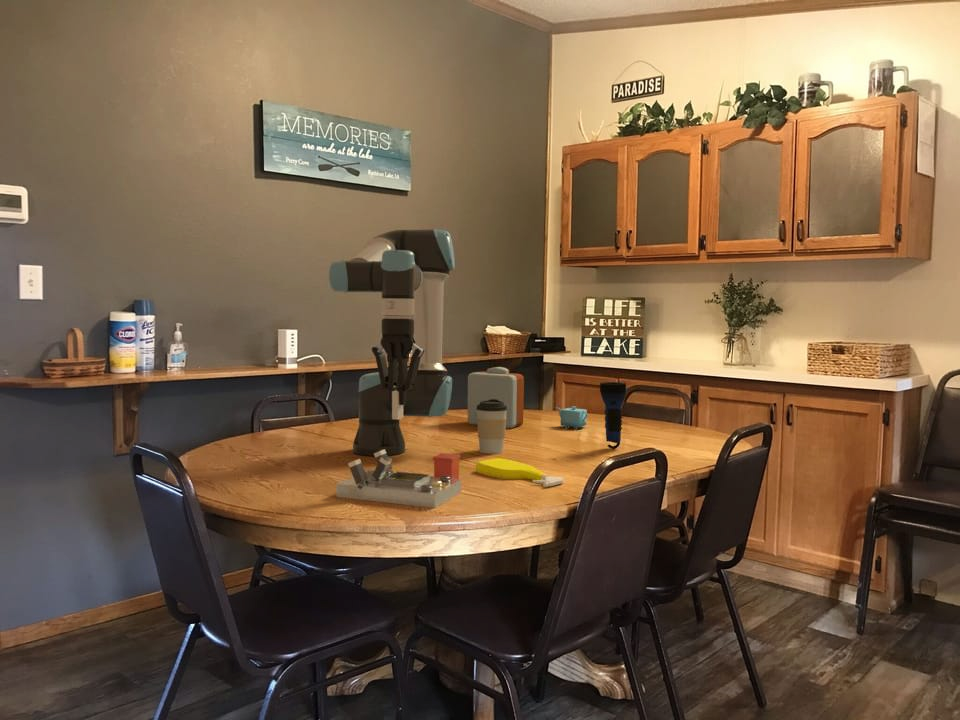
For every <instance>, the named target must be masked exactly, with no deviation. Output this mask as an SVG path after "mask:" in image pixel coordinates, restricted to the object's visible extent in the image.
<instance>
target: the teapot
mask: <svg viewBox="0 0 960 720" xmlns="http://www.w3.org/2000/svg"><path fill="white" fill-rule="evenodd" d="M556 410H557V411H558V413H559V417H560V426H561V427H564V429H569V428H573V429H574V430H579V428H580V429H582V428H583V427H584V426H586V425H587V418H588V413H587V412H588V410H587V409H584V408H577V406H571V407H567V408H562V409H561V408H560V407H556Z"/></svg>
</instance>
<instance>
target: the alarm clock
mask: <svg viewBox="0 0 960 720" xmlns="http://www.w3.org/2000/svg"><path fill="white" fill-rule="evenodd" d="M524 385H525V377H524V376H523V375H522V374H520V373H512V372H511V373H510V369H508V368H507V367H502V366H497V367H496V366H495V367H490V368H487V370H486V371H476V372H471V373H469V374H468V376H467V423H469V424H470V425H473V426H478V424H477V417H478V416H477V405H479V404H480V402H481V401H488V400H490V399H497V400H499V401H502V402H504V405H506V406H507V411H506V429H513V428H516V427H519V426H522V425H523V423H524V397H525V395H524V394H525V391H524V390H525V388H524V387H525V386H524Z"/></svg>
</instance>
